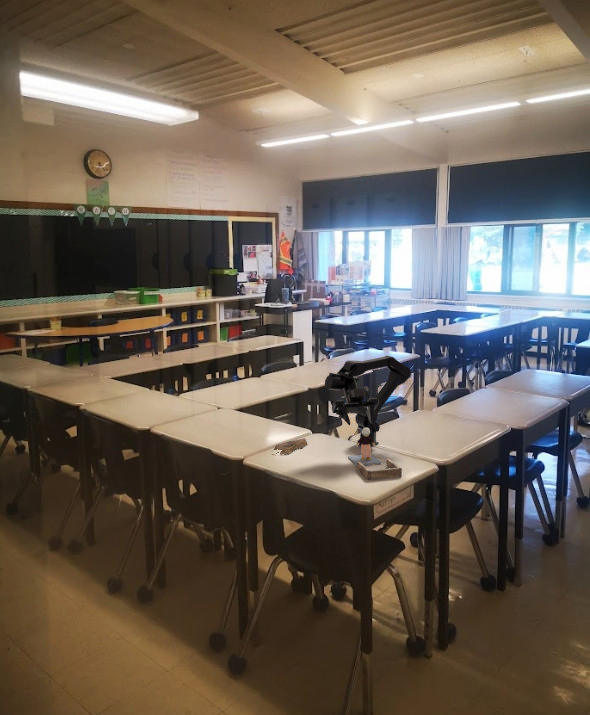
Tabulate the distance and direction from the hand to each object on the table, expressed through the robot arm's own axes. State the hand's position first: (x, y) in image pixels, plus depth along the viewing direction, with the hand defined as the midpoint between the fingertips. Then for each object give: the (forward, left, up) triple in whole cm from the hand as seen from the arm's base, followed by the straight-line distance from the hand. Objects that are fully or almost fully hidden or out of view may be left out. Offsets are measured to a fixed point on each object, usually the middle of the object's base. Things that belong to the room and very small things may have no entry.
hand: (360, 423), depth 236 cm
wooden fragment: (+13, -28, -14) cm, 34 cm away
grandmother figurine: (+2, +4, -13) cm, 14 cm away
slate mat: (+2, +4, -14) cm, 14 cm away
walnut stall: (+7, +17, -14) cm, 23 cm away
